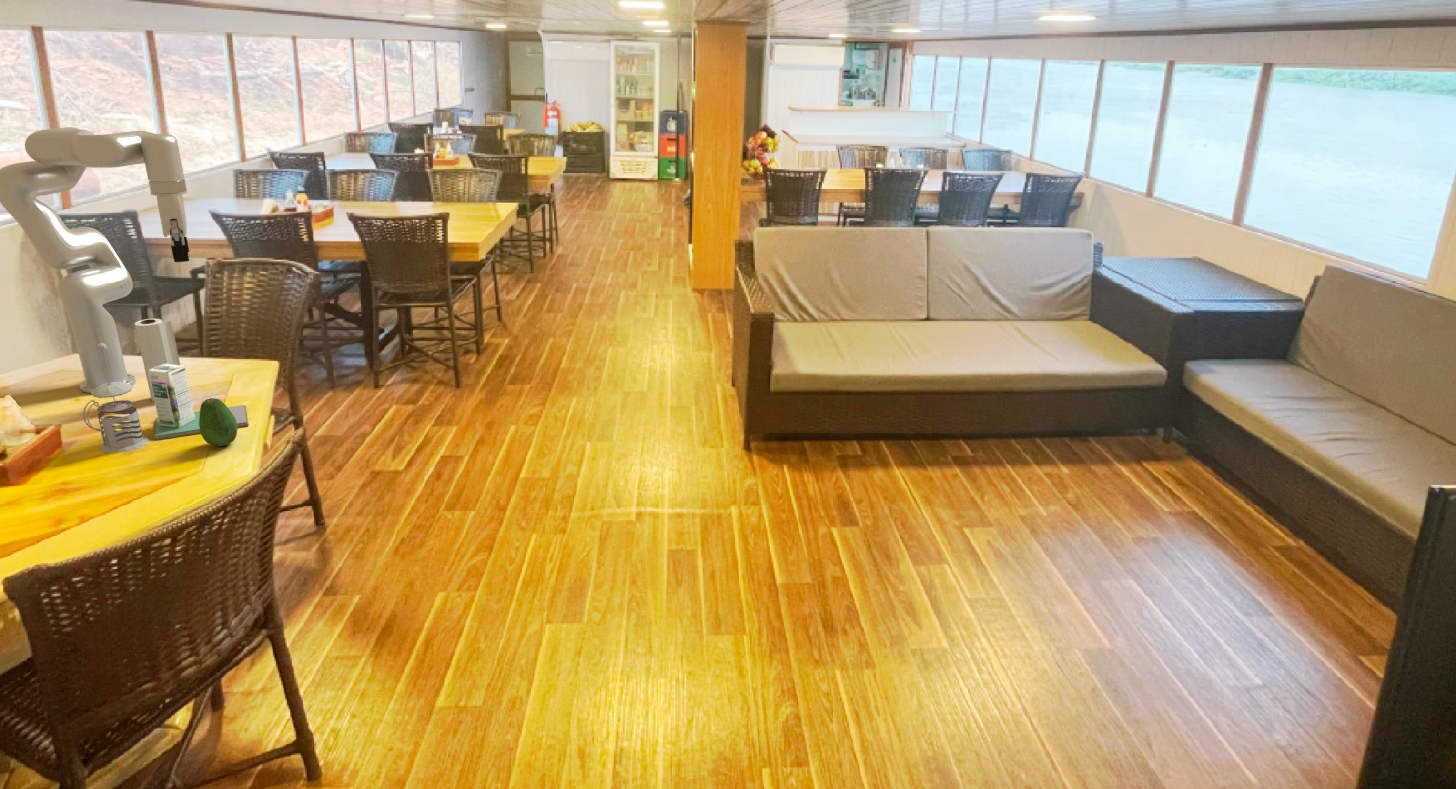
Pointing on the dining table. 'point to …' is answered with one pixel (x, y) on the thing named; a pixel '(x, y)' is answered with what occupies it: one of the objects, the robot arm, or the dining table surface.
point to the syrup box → (171, 395)
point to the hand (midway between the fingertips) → (182, 257)
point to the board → (197, 425)
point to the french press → (113, 438)
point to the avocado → (217, 423)
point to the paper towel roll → (156, 345)
